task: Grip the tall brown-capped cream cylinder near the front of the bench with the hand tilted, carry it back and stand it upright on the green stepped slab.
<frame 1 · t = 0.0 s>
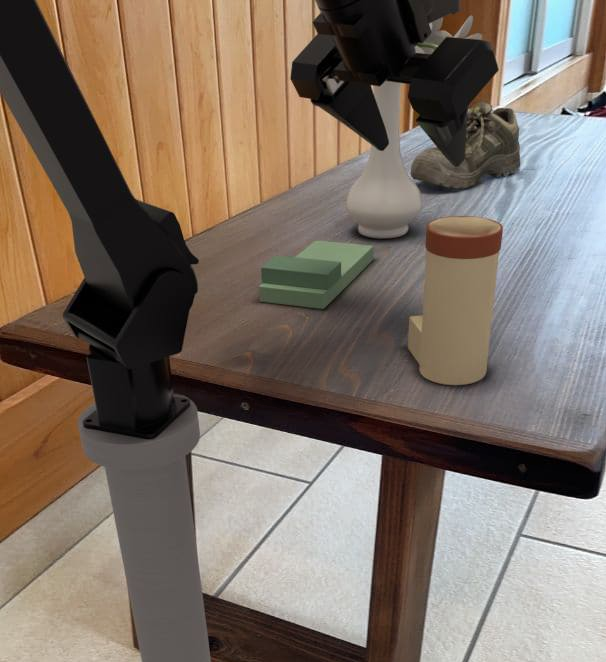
hand: (420, 155, 75), 14 cm above the table, tool tilted 35°, fingers open, 9 cm apart
hiking shoe: (465, 180, 125), on the table
green stepped slab: (319, 279, 92), on the table
brown-capped cream cylinder: (452, 371, 72), on the table
flower vase: (389, 233, 105), on the table
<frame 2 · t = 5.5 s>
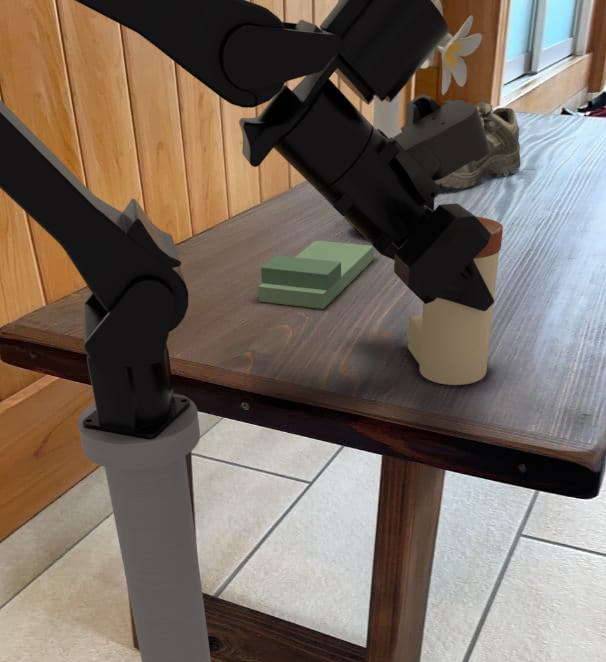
hand: (475, 293, 69), 7 cm above the table, tool tilted 45°, fingers closed on brown-capped cream cylinder, 5 cm apart
brown-capped cream cylinder: (452, 371, 72), on the table, touching gripper
everything else where it was.
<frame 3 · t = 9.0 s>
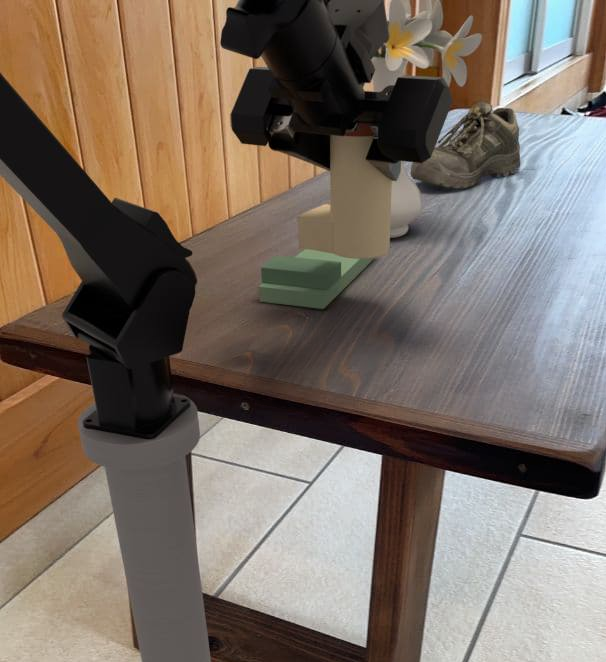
hand: (368, 172, 78), 12 cm above the table, tool tilted 45°, fingers closed on brown-capped cream cylinder, 5 cm apart
brown-capped cream cylinder: (359, 249, 81), point 6 cm above the table, touching gripper
everything else where it was.
when the fingers open (8 cm above the table, at t = 13.0 s): brown-capped cream cylinder stays where it is, resting on green stepped slab.
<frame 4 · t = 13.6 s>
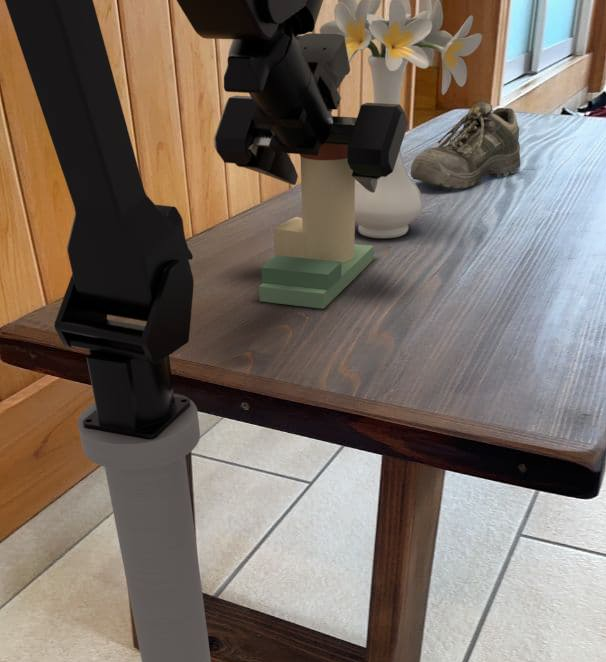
hand: (334, 184, 90), 9 cm above the table, tool tilted 45°, fingers open, 9 cm apart
green stepped slab: (319, 279, 92), on the table, touching brown-capped cream cylinder
brown-capped cream cylinder: (328, 256, 93), point 2 cm above the table, touching green stepped slab
everything else where it was.
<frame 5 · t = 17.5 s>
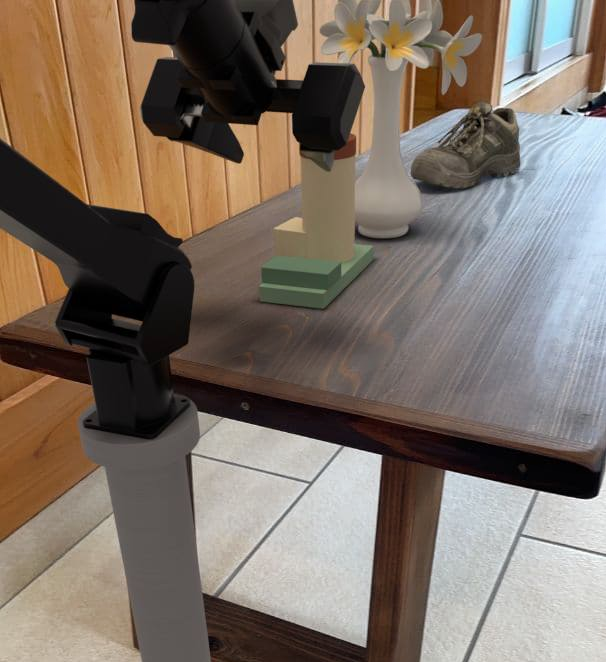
hand: (284, 162, 77), 14 cm above the table, tool tilted 45°, fingers open, 9 cm apart
nothing on the table moved.
at the end: brown-capped cream cylinder inside the target area on the green stepped slab (0.5 cm from its centre), point 1.6 cm above the green stepped slab's base; brown-capped cream cylinder tilted 0°; the gripper is holding nothing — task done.
